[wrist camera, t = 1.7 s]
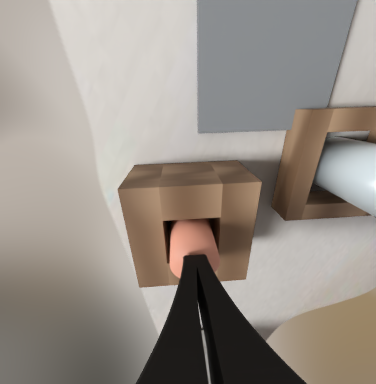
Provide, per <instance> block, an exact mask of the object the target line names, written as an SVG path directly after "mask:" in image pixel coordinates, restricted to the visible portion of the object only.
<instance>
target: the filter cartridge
mask: <svg viewBox="0 0 376 384" xmlns="http://www.w3.org/2000/svg"><path fill="white" fill-rule="evenodd" d="M313 183H314V184H316V185H318V186H320V187H322V188H324V189H325V190H327V191H329V192H331V193H333V194H334V195H336V196H338V197H340V198H342V199H343V200H345V201H347V202H349V203H351V204H353V205H354V206H356V207H358V208H360V209H362V210H363V211H365V212H367V213H369V214H371V215H372V216H374V217H376V144H375V143H369V142H364V141H358V140H353V139H347V138H342V137H330V138H327V139H325V142H324V145H323V148H322V152H321V155H320V158H319V162H318V165H317V168H316V172H315V175H314V179H313Z"/></svg>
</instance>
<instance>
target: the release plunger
mask: <svg viewBox="0 0 376 384" xmlns="http://www.w3.org/2000/svg"><path fill="white" fill-rule="evenodd" d="M199 254H205V255H207V258H208V260H209V263H210V265H211V267H212V269H213V270H214V272H216V271H217V269H218V268H219V265H220V256H219V253H218V250H217V246H216V243H215V239H214V236H213V233H212V229H211V226H210V223H209V219H208V218H201V219H185V220H171V240H170V269H171V271H172V272H173V274H174V275H175V276H177V277H178V278H180V276H181V272H182V266H183V257H184V256H185V255H199Z"/></svg>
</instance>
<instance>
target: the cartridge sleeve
mask: <svg viewBox="0 0 376 384" xmlns="http://www.w3.org/2000/svg"><path fill="white" fill-rule="evenodd" d="M368 130H370V133H369V135H368V138H367V140H366V142H369V143H375V144H376V106H371V107H342V108H319V109H296V110H295V114H294V119H293V124H292V129H291V130H287V132H286V136H285V141H284V146H283V151H282V156H281V161H280V166H279V171H278V176H277V181H276V186H275V191H274V196H273V201H272V206H271V207H272V208H273V209H274V210H275V211H276V212H277V213H278V214H279V215H280V216H281V217H282V218H283V219H284V220H285V221H289V220H305V219H321V218H337V217H352V216H368V215H371V214H369V213H367V212H365V211H363V210H362V209H360V208H358V207H356V206H354V205H353V204H351V203H349V202H347V201H345V200H343V199H342V198H340V197H338V196H336V195H334V194H333V193H331V192H329V191H327V190H326V191H310V189H311V185H312V182H313V179H314V175H315V172H316V168H317V165H318V162H319V158H320V155H321V152H322V148H323V145H324V142H325V138H326V135H327V132H343V131H368Z"/></svg>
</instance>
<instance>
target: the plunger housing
mask: <svg viewBox="0 0 376 384" xmlns="http://www.w3.org/2000/svg"><path fill="white" fill-rule="evenodd" d="M261 184H262V182H261V181H260V180H259V179H258V178H257V177H256V176H255V175H253V174H252V173H251V172H250V171H249V170H248V169H246V168H245V167H244V166H243V165H242V164H241V163H240V162H238V161H237V160H236V161H214V162H192V163H171V164H149V165H134V167H133V168H132V170H131V171H130V172H129V174H128V175H127V177H126V178H125V180H124V181H123V182H122V184H121V185H120V187H119V188H118V193H119V198H120V202H121V207H122V211H123V216H124V220H125V225H126V230H127V234H128V239H129V243H130V248H131V252H132V257H133V261H134V266H135V270H136V275H137V279H138V284H139V287H140V288H141V287H154V286H167V285H178V284H179V280H180V278H178V277H177V276H175V275H174V274H173V272H172V271H171V269H170V240H171V225H169V220H185V219H201V218H208V219H209V223H210V226H211V229H212V233H213V236H214V239H215V243H216V246H217V250H218V253H219V256H220V265H219V268H218V269H217V271H216V272H215V274H216V276H217V278H218V279H219V281H231V280H244V279H246V275H247V269H248V263H249V257H250V251H251V245H252V239H253V233H254V227H255V221H256V215H257V208H258V202H259V196H260V190H261Z"/></svg>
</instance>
